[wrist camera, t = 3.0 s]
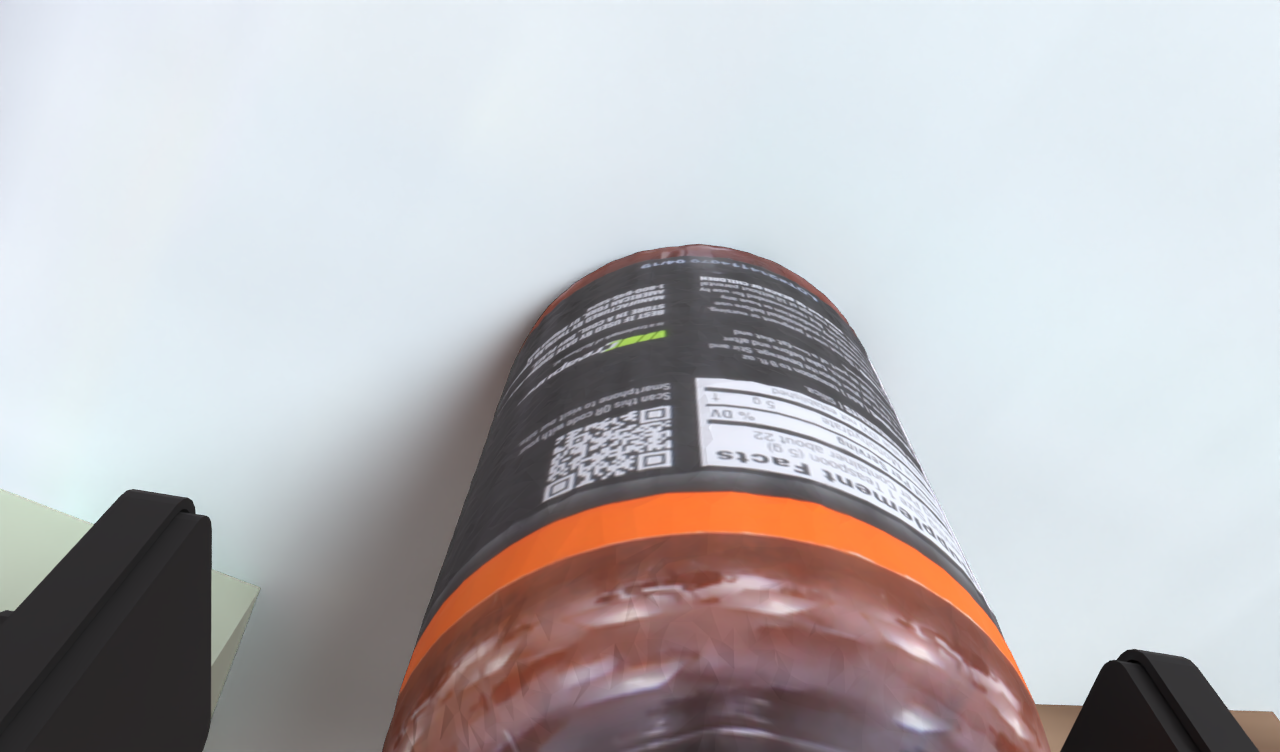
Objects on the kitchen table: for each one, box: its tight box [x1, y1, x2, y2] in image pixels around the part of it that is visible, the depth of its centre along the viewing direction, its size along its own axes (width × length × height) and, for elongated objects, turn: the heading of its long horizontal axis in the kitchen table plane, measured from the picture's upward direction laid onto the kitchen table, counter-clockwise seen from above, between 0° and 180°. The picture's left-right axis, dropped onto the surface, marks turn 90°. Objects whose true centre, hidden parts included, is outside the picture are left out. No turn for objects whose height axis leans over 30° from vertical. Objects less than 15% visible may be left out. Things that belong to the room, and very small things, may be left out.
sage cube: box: [0, 489, 260, 718], centre depth 16 cm, size 5×5×5 cm
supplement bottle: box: [382, 244, 1051, 752], centre depth 11 cm, size 6×6×11 cm
